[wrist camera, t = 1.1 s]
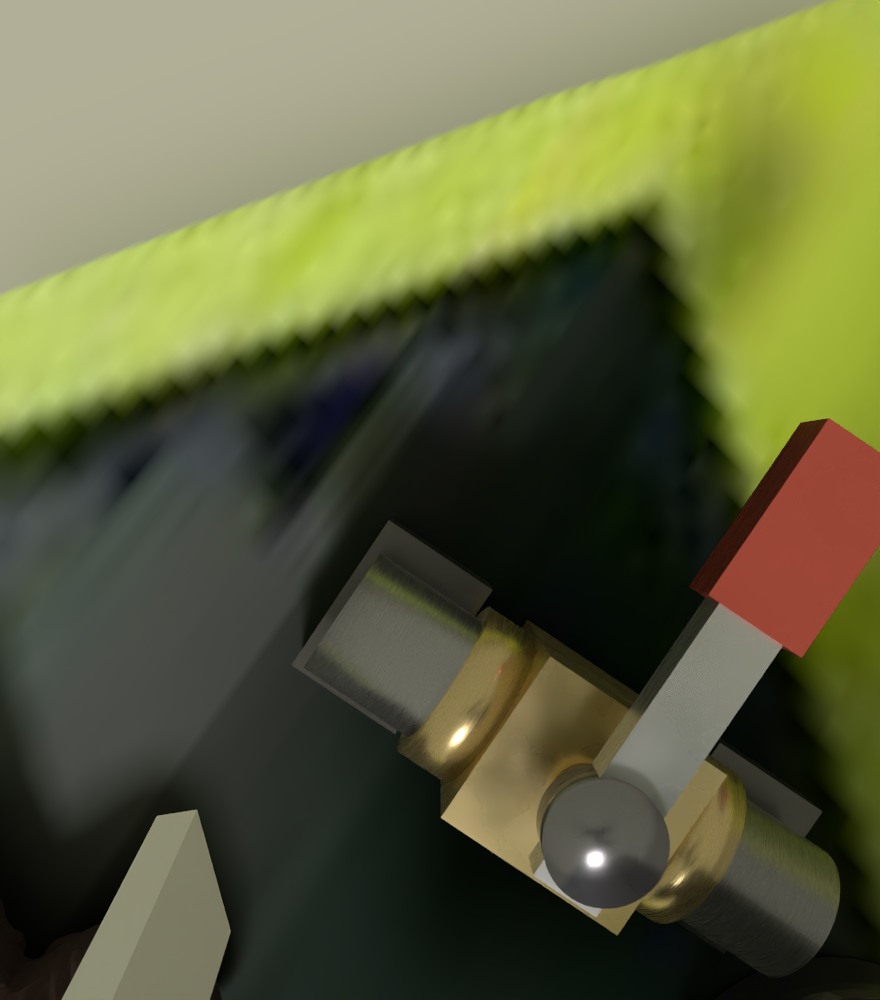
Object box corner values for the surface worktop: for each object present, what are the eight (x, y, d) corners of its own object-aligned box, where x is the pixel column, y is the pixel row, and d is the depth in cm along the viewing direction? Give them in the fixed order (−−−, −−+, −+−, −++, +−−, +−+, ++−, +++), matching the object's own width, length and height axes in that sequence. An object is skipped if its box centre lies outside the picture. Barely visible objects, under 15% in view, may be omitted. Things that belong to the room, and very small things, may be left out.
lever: (605, 904, 25) (618, 938, 23) (508, 839, 25) (514, 868, 23) (892, 485, 25) (930, 485, 23) (795, 419, 25) (825, 414, 23)
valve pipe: (795, 788, 35) (940, 913, 25) (704, 920, 35) (811, 1098, 25) (392, 517, 35) (372, 532, 25) (301, 651, 35) (245, 722, 25)
